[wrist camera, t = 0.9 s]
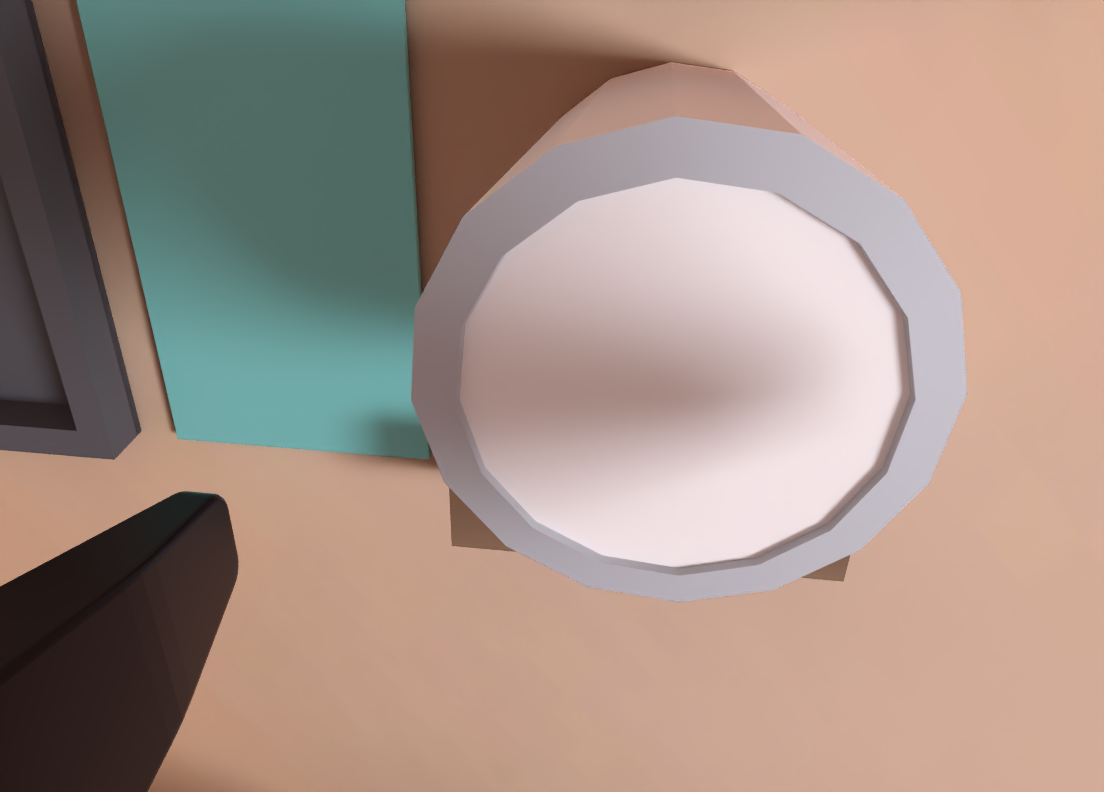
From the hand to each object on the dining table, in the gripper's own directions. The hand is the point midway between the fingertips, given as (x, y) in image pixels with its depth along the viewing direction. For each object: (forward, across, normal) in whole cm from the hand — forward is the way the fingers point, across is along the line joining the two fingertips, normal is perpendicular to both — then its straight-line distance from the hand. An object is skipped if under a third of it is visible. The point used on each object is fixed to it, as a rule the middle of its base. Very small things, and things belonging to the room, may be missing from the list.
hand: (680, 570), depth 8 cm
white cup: (+10, 0, 0) cm, 10 cm away
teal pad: (+10, +8, 0) cm, 13 cm away
